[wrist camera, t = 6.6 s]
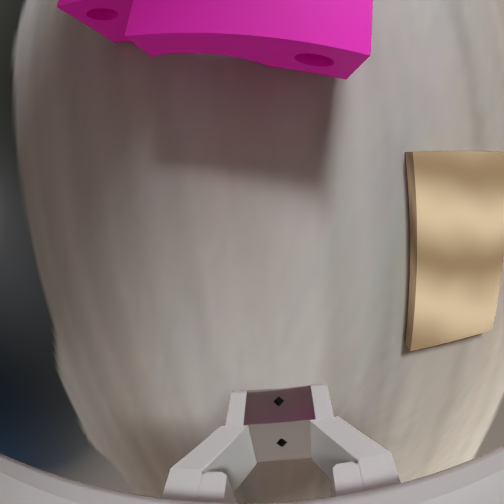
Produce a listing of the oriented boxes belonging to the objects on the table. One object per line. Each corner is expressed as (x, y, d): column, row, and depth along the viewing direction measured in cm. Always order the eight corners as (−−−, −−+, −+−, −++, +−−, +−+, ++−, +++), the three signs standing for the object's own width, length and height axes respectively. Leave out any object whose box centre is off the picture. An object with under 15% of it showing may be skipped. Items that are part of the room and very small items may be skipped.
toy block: (370, 55, 11) (335, 90, 18) (372, -50, 9) (342, 8, 16) (45, 48, 11) (109, 75, 18) (76, -47, 9) (126, -1, 16)
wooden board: (405, 152, 18) (412, 152, 17) (494, 151, 18) (504, 152, 17) (405, 343, 22) (410, 351, 21) (485, 323, 22) (492, 329, 20)
